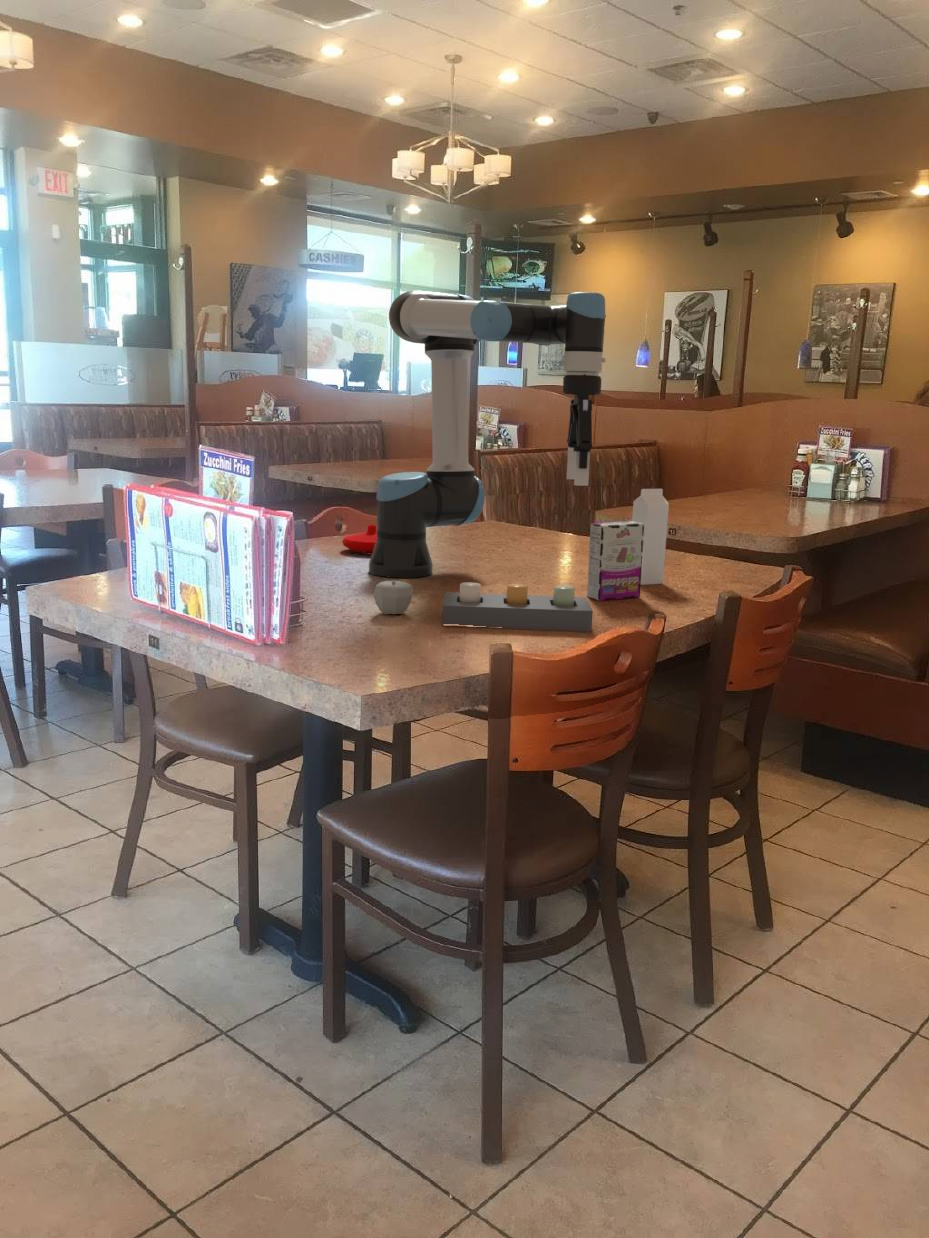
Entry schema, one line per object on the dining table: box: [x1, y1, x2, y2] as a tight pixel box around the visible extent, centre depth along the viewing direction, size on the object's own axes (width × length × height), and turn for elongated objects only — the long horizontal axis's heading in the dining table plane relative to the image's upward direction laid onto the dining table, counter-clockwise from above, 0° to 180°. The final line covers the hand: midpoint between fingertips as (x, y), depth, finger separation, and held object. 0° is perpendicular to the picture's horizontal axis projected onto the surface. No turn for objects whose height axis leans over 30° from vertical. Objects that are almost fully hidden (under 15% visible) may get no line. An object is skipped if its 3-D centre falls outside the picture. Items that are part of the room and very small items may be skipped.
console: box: [441, 592, 594, 633], centre depth 193 cm, size 28×12×4 cm, turn 89°
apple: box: [373, 580, 414, 615], centre depth 196 cm, size 8×8×7 cm
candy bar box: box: [586, 520, 644, 602], centre depth 216 cm, size 11×5×16 cm, turn 117°
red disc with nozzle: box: [341, 524, 377, 554], centre depth 265 cm, size 16×16×7 cm
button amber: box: [506, 583, 529, 605], centre depth 192 cm, size 4×4×4 cm
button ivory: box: [459, 581, 482, 603], centre depth 192 cm, size 4×4×4 cm
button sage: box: [552, 585, 576, 606], centre depth 192 cm, size 4×4×4 cm
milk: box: [631, 488, 670, 586], centre depth 234 cm, size 6×6×22 cm
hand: (577, 482), depth 203 cm, fingers open, 13 cm apart
